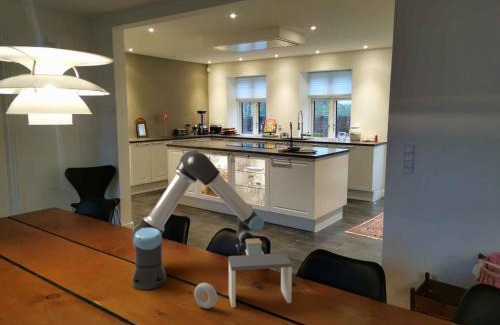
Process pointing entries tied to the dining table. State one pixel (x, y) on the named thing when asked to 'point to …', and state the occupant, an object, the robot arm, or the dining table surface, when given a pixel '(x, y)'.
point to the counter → (283, 284)
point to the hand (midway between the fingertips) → (255, 257)
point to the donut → (210, 292)
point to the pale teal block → (253, 246)
